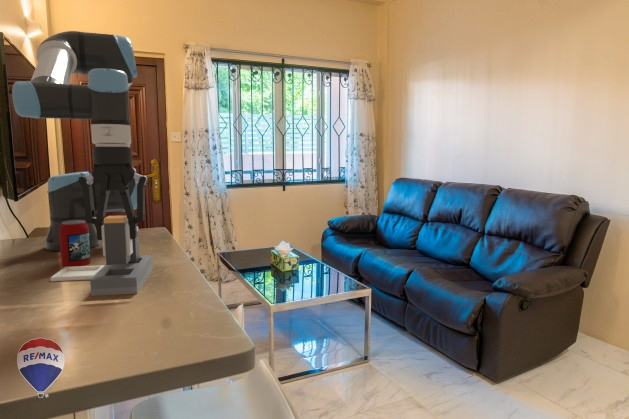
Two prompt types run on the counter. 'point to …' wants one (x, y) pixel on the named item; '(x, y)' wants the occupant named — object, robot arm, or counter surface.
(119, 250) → the plug
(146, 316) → the counter surface
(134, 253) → the twin plug
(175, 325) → the counter surface
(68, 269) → the tray
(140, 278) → the grey socket block
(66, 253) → the beverage can
